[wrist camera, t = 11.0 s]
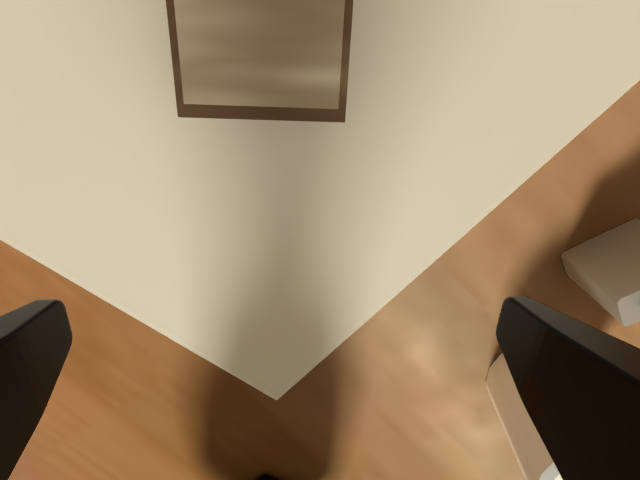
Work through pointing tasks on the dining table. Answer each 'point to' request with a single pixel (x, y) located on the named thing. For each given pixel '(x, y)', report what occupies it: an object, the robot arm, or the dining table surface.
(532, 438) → the white cylinder
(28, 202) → the mat
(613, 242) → the lighter
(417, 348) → the dining table surface
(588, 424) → the robot arm
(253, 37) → the wood grain block
